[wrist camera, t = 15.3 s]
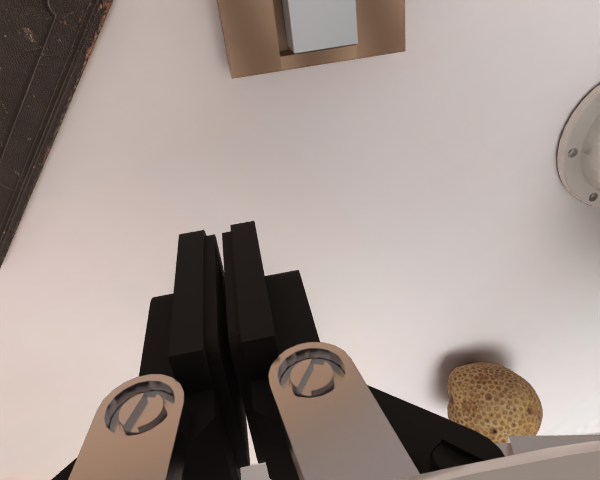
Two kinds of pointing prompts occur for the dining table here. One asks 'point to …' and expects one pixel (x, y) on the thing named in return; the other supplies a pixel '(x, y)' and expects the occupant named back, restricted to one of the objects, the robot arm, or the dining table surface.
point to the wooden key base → (278, 56)
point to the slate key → (319, 24)
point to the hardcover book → (37, 89)
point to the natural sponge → (493, 401)
